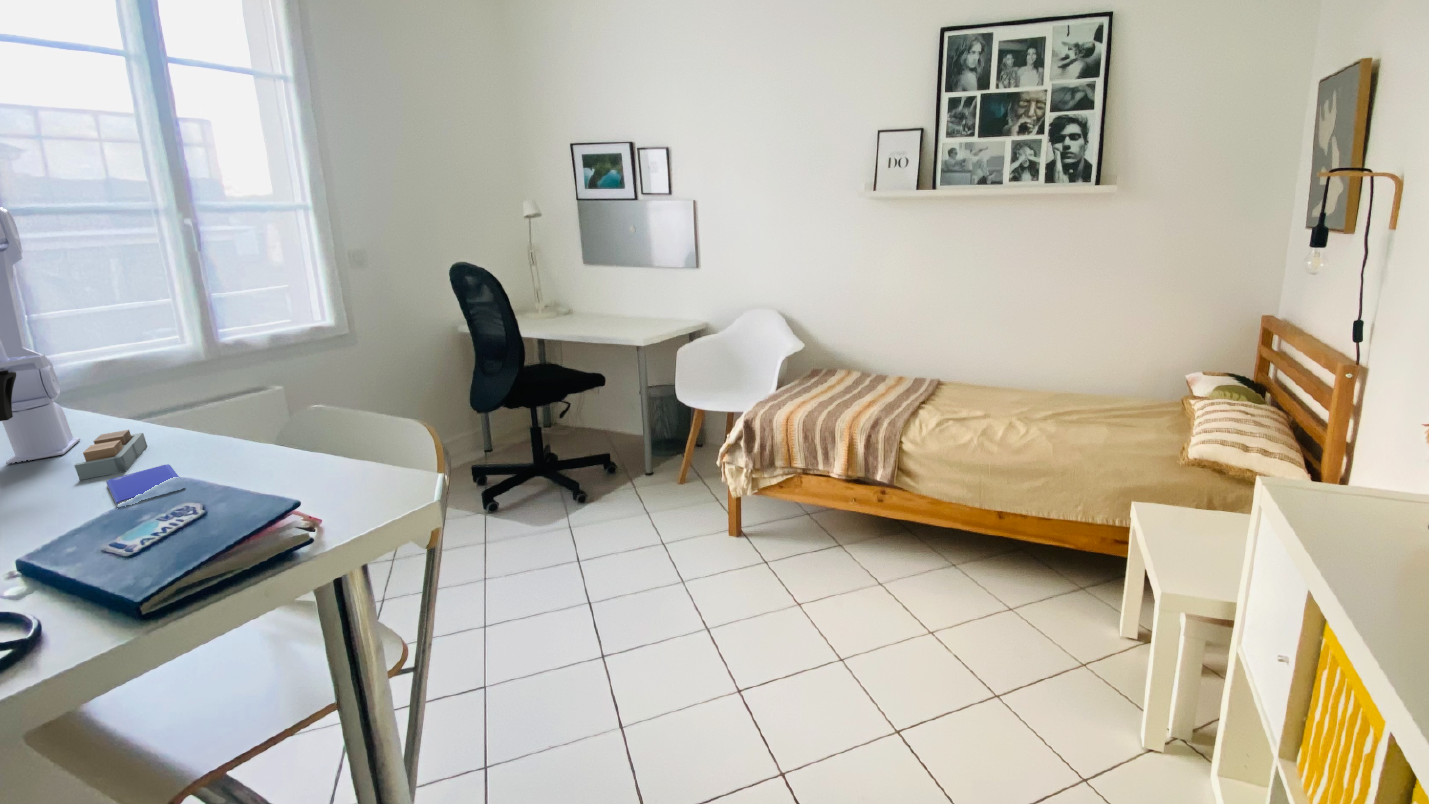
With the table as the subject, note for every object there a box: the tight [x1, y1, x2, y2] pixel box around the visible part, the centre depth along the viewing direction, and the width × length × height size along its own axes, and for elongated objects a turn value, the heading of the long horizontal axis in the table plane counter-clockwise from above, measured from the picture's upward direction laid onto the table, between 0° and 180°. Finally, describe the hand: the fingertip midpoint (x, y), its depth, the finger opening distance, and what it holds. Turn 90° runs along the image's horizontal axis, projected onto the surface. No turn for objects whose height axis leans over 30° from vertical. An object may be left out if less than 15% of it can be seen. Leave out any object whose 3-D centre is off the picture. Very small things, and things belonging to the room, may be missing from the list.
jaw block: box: [82, 440, 123, 462], centre depth 119 cm, size 4×4×4 cm
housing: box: [74, 432, 148, 481], centre depth 122 cm, size 14×6×2 cm, turn 25°
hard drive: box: [106, 463, 180, 506], centre depth 110 cm, size 2×8×12 cm
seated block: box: [93, 429, 132, 445], centre depth 125 cm, size 4×4×4 cm
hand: (5, 419), depth 116 cm, fingers closed
